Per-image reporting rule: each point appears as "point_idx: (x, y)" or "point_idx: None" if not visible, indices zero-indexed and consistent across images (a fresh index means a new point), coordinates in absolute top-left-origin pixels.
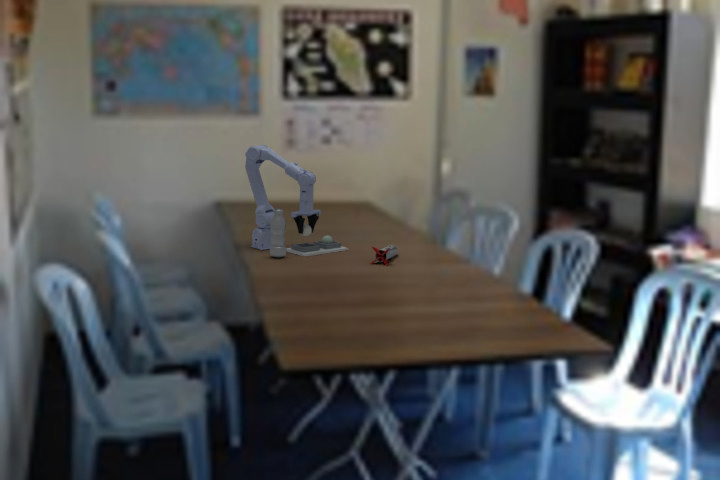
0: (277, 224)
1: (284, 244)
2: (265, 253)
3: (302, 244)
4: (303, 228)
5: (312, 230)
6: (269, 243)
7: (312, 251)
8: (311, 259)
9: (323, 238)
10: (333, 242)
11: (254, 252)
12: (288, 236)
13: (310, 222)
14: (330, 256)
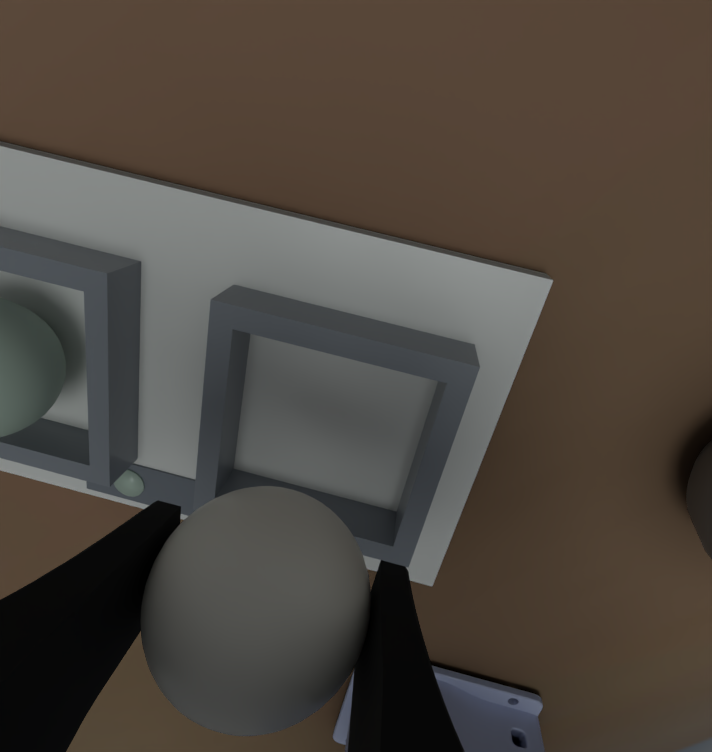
0: None
1: None
2: (640, 624)
3: None
4: (346, 640)
5: (156, 524)
6: (455, 724)
7: (345, 308)
8: (658, 81)
9: (7, 404)
10: None
11: (654, 695)
12: None
13: (55, 715)
14: (305, 13)
